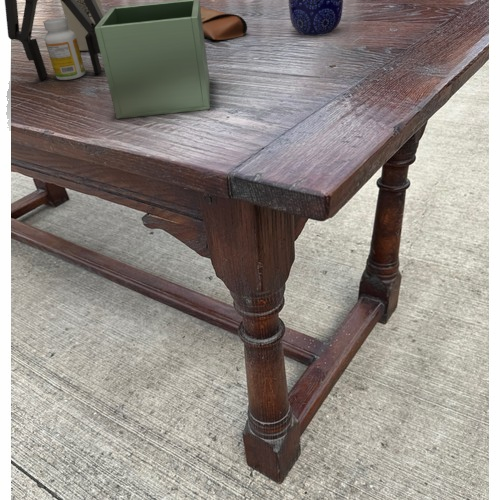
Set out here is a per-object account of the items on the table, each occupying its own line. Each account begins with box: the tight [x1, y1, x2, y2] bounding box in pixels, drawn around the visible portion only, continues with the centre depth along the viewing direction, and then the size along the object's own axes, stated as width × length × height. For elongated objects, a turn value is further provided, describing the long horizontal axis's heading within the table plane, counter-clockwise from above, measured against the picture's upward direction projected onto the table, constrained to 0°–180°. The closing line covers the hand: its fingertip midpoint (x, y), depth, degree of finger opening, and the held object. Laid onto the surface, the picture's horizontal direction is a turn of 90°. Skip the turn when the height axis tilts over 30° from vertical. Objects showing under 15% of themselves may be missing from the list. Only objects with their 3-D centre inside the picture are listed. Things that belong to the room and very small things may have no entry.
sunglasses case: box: [200, 5, 248, 41], centre depth 112 cm, size 18×7×7 cm
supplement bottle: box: [43, 16, 86, 81], centre depth 91 cm, size 5×5×10 cm
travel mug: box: [59, 0, 105, 52], centre depth 106 cm, size 8×8×18 cm
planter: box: [288, 0, 344, 36], centre depth 102 cm, size 11×11×11 cm
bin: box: [95, 0, 211, 120], centre depth 76 cm, size 14×14×12 cm
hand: (70, 74), depth 94 cm, fingers open, 9 cm apart
